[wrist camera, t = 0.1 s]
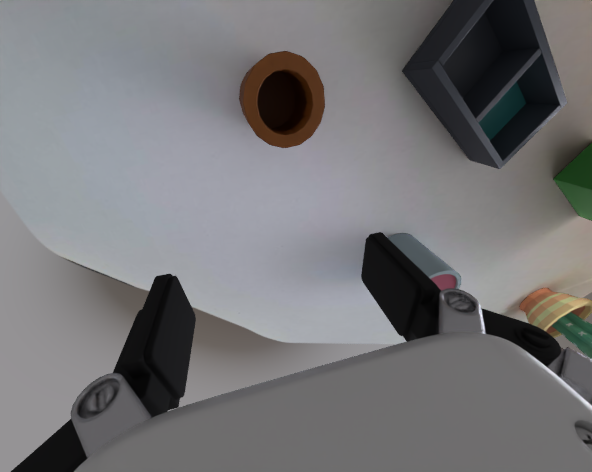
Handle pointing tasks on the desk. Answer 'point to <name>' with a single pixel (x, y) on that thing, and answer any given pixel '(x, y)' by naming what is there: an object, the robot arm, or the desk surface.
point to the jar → (282, 99)
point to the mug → (427, 261)
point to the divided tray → (488, 77)
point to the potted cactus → (561, 316)
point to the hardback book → (578, 183)
